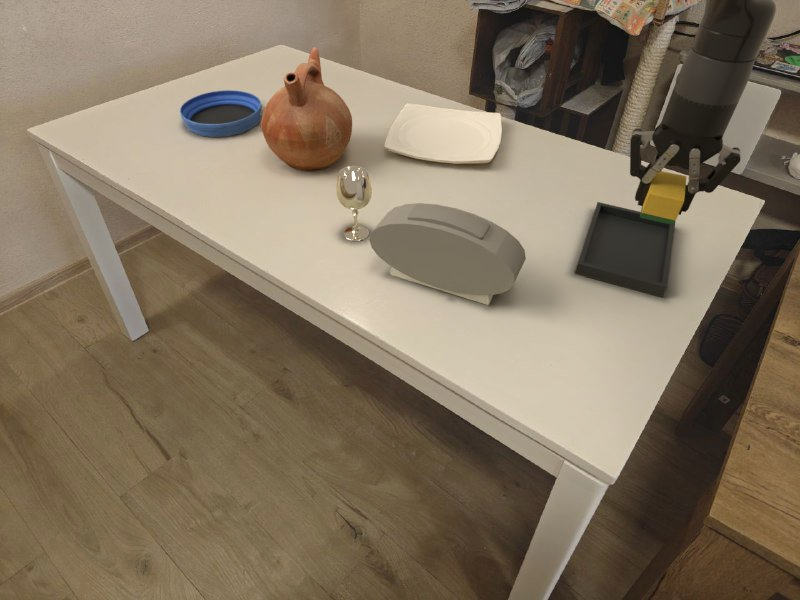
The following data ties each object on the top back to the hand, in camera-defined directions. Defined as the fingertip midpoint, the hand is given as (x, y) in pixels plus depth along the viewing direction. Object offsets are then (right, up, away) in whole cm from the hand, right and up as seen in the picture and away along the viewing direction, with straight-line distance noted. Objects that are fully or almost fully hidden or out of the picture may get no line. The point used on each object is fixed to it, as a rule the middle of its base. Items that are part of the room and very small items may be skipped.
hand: (659, 206), depth 78 cm
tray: (+1, -5, +15) cm, 16 cm away
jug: (-56, +17, +37) cm, 69 cm away
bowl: (-78, +28, +49) cm, 97 cm away
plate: (-27, +22, +43) cm, 56 cm away
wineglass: (-45, -2, +18) cm, 48 cm away
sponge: (0, 0, 0) cm, 0 cm away
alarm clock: (-30, -10, +9) cm, 33 cm away
